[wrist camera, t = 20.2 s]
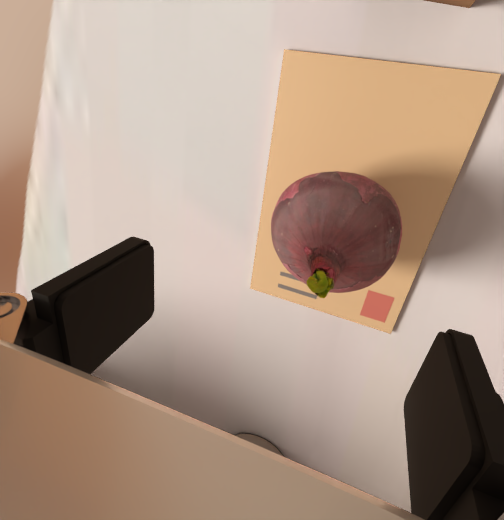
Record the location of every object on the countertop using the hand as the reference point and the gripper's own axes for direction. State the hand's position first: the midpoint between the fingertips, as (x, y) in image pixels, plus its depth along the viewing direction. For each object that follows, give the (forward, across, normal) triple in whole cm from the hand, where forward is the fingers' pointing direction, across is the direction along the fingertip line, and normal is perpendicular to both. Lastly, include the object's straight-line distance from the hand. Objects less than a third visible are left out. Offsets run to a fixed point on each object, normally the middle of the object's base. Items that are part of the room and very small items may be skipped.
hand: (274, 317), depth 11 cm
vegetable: (+11, -1, -1) cm, 11 cm away
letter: (+11, -1, -1) cm, 11 cm away
